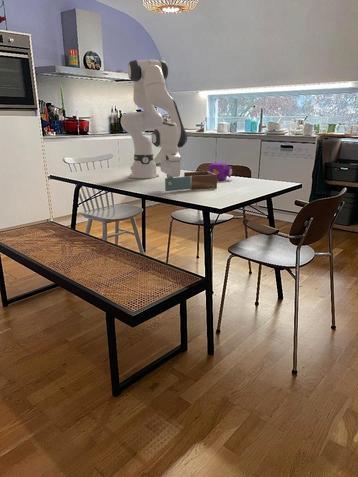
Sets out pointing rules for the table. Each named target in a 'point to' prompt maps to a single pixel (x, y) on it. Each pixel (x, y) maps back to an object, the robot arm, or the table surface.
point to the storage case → (202, 179)
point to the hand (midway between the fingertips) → (169, 183)
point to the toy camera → (220, 170)
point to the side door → (178, 183)
